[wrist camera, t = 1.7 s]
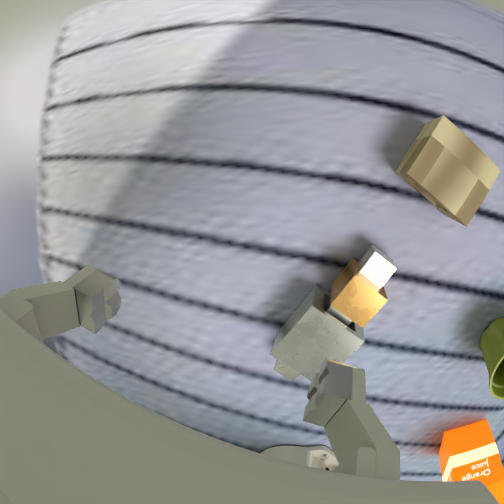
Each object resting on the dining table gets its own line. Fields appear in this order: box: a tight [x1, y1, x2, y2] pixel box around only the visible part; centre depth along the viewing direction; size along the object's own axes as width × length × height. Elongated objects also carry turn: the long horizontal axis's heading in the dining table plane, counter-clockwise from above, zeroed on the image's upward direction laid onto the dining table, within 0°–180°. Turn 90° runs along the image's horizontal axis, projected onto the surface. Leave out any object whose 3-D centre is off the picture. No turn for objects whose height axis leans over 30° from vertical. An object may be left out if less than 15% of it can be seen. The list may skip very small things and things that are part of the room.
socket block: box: [394, 116, 500, 226], centre depth 25 cm, size 8×7×6 cm
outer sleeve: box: [270, 284, 364, 381], centre depth 34 cm, size 7×8×6 cm
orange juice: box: [439, 419, 504, 504], centre depth 27 cm, size 8×9×20 cm
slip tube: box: [274, 244, 397, 381], centre depth 33 cm, size 4×19×6 cm, turn 148°
